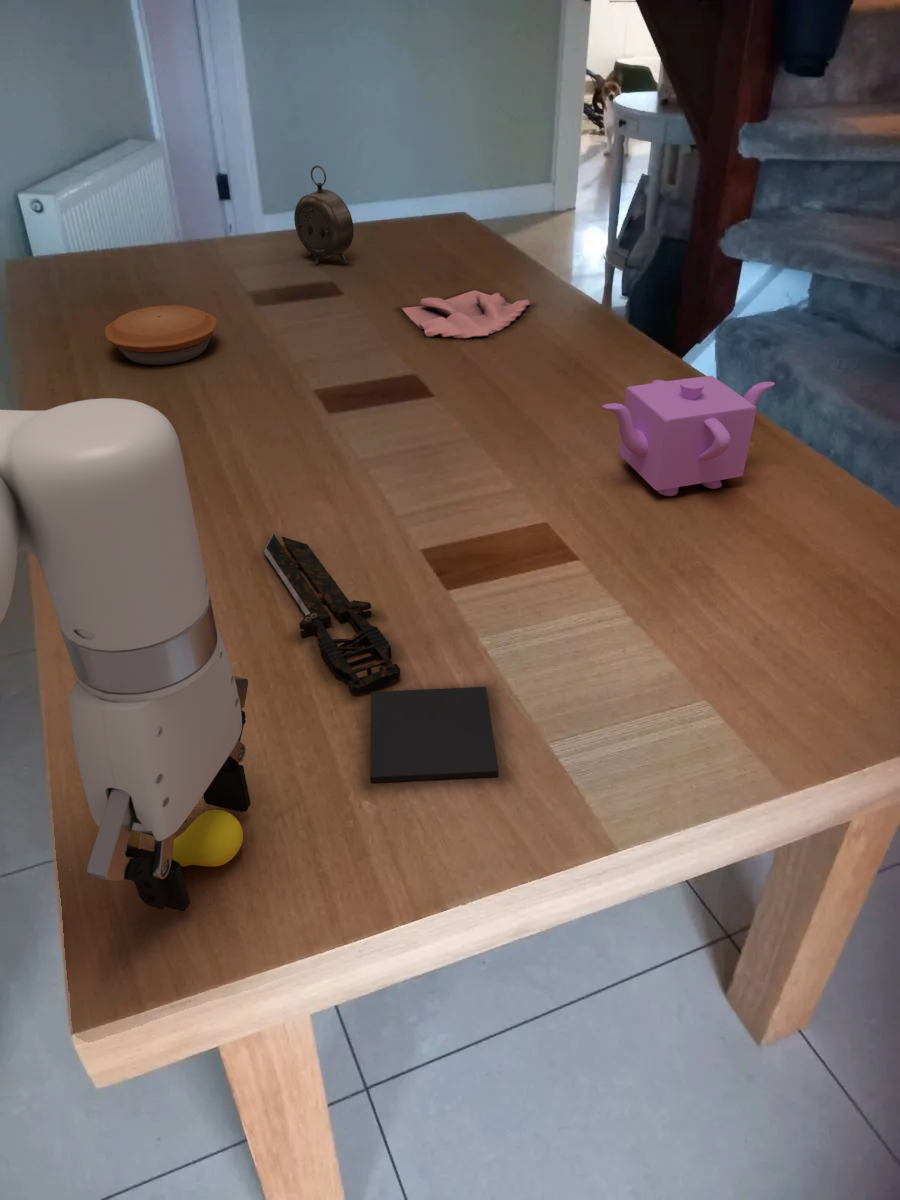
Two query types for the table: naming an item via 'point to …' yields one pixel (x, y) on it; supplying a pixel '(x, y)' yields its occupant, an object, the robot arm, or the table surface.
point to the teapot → (686, 431)
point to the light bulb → (209, 840)
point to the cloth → (465, 315)
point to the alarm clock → (323, 223)
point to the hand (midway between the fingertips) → (198, 850)
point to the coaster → (431, 735)
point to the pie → (162, 334)
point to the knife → (320, 618)
